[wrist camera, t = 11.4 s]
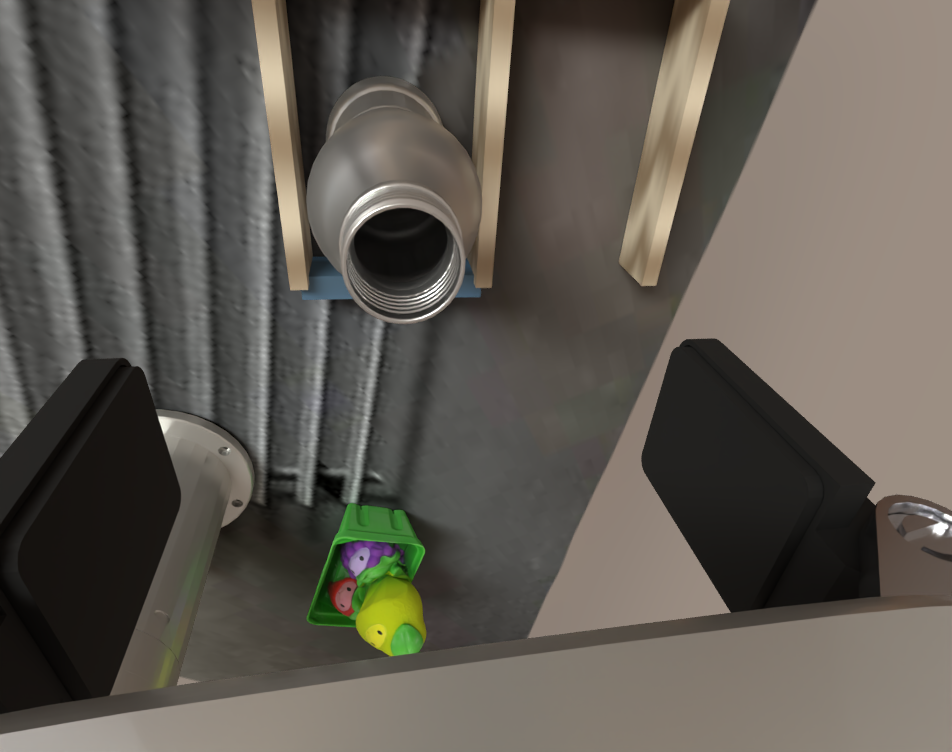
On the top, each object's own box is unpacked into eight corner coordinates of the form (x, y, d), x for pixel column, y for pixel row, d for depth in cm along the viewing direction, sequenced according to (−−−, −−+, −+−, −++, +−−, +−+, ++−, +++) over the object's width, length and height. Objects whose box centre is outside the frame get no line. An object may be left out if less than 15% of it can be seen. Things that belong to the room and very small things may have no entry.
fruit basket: (337, 489, 47) (330, 608, 37) (435, 503, 49) (451, 617, 40) (309, 575, 52) (296, 697, 43) (399, 583, 55) (406, 699, 46)
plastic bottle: (328, 188, 33) (288, 363, 17) (329, 60, 30) (281, 123, 13) (433, 200, 35) (493, 372, 18) (447, 80, 31) (537, 158, 15)
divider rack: (628, 275, 40) (652, 299, 37) (299, 278, 36) (292, 305, 33) (699, -33, 30) (739, -38, 27) (255, -75, 26) (239, -87, 23)
